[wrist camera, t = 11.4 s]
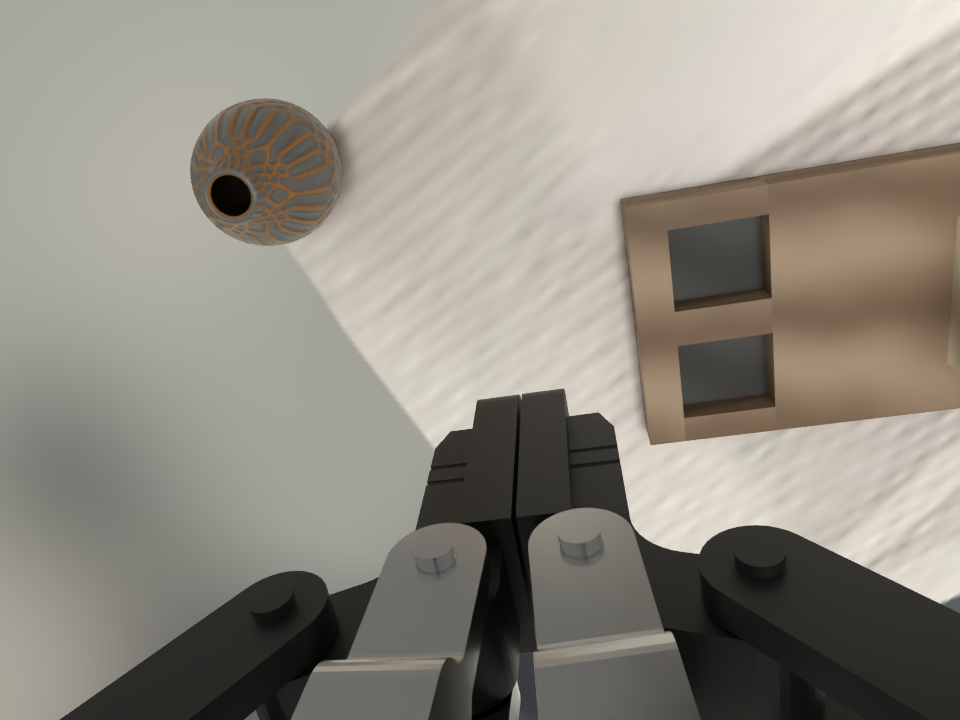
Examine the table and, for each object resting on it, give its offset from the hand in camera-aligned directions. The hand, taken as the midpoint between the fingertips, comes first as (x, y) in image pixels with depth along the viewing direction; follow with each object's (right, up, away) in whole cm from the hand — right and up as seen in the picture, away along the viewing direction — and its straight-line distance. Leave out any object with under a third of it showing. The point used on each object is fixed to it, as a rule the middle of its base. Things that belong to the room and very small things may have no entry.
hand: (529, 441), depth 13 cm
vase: (-11, +12, +28) cm, 32 cm away
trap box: (+23, +6, +28) cm, 36 cm away
